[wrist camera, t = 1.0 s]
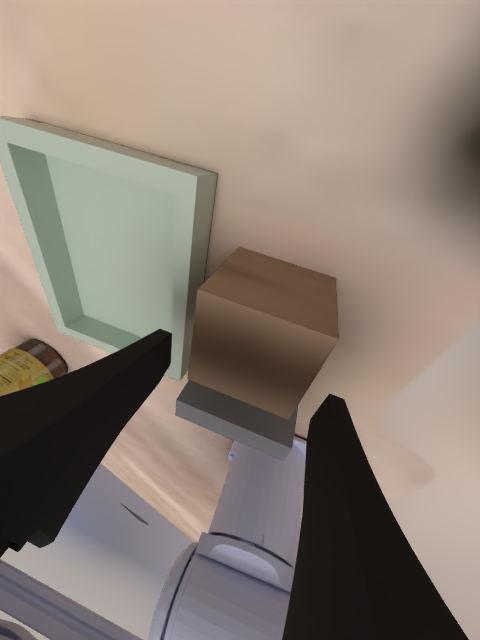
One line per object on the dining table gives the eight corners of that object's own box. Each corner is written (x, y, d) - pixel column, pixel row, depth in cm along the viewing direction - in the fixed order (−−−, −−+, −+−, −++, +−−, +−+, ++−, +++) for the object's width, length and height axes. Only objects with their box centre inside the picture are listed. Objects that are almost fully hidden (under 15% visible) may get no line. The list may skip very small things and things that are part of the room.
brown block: (299, 349, 18) (288, 419, 13) (224, 321, 18) (187, 378, 14) (335, 277, 14) (338, 339, 9) (240, 246, 15) (197, 289, 10)
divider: (291, 404, 21) (282, 461, 17) (203, 368, 22) (175, 415, 18) (299, 390, 20) (292, 448, 16) (205, 353, 21) (176, 399, 17)
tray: (193, 361, 22) (179, 381, 20) (81, 316, 23) (58, 331, 21) (217, 173, 13) (197, 176, 11) (31, 119, 14) (-17, 113, 12)
